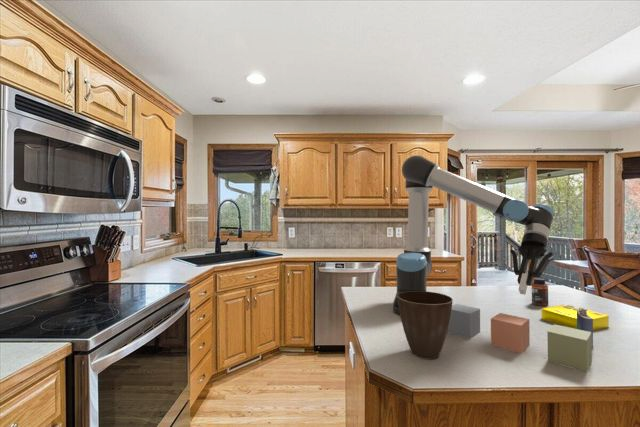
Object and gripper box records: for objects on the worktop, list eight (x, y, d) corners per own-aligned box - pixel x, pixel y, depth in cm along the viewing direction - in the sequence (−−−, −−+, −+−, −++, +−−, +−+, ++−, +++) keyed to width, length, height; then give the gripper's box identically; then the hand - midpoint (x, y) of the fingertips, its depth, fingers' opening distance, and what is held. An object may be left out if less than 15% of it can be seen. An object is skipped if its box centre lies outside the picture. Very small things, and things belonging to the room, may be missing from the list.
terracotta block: (521, 353, 86) (521, 325, 86) (491, 345, 92) (490, 318, 92) (529, 345, 92) (529, 319, 92) (500, 337, 98) (499, 312, 98)
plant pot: (386, 351, 88) (386, 295, 88) (417, 338, 97) (417, 288, 97) (433, 371, 76) (433, 307, 76) (463, 355, 85) (463, 298, 85)
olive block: (587, 372, 76) (586, 340, 76) (547, 361, 82) (547, 331, 82) (591, 362, 81) (591, 332, 81) (554, 352, 87) (554, 324, 87)
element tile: (538, 319, 116) (538, 306, 116) (564, 314, 121) (564, 302, 121) (584, 333, 102) (584, 319, 102) (611, 327, 107) (611, 314, 107)
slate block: (470, 339, 97) (470, 313, 97) (445, 332, 103) (445, 308, 103) (480, 332, 102) (480, 308, 102) (456, 326, 108) (456, 303, 108)
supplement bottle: (547, 303, 135) (547, 278, 135) (549, 307, 130) (548, 280, 130) (531, 301, 138) (531, 277, 138) (532, 305, 133) (531, 279, 133)
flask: (594, 350, 88) (594, 313, 89) (581, 348, 90) (581, 311, 90) (585, 339, 96) (585, 305, 97) (573, 337, 98) (573, 303, 98)
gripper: (559, 246, 108) (548, 302, 97) (517, 244, 118) (502, 294, 107) (555, 232, 105) (543, 288, 93) (512, 231, 114) (497, 281, 103)
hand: (521, 291), depth 100 cm, fingers closed
